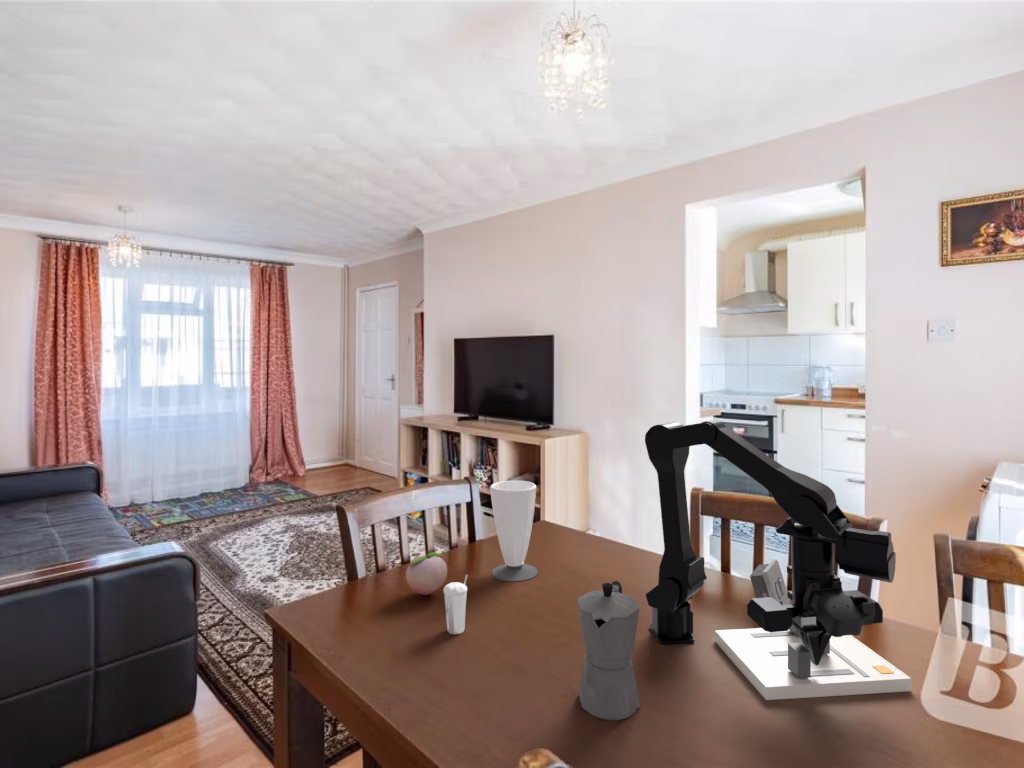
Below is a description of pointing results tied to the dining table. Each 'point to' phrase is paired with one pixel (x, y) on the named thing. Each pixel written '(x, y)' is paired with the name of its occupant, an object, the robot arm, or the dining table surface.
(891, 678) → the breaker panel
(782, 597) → the electrical switch
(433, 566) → the decorative fruit
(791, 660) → the block
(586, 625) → the coffeepot
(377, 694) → the dining table surface
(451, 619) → the milkshake
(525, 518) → the cup
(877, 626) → the dining table surface
